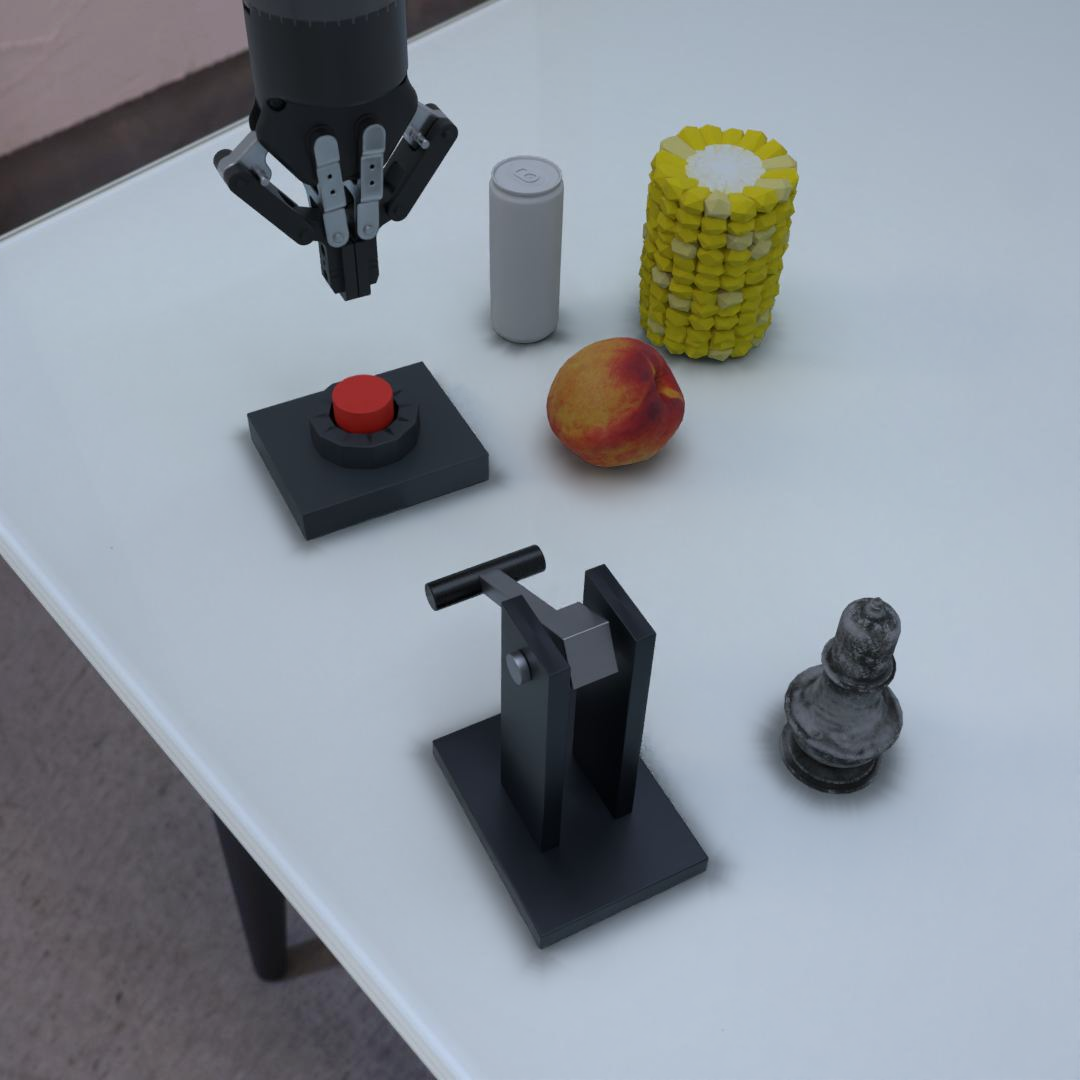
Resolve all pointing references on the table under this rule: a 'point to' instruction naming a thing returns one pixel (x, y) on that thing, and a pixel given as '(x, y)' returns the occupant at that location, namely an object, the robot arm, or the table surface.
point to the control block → (367, 454)
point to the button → (363, 404)
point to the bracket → (570, 775)
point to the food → (714, 240)
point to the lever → (535, 610)
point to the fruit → (615, 402)
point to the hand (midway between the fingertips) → (351, 290)
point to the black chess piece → (845, 703)
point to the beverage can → (525, 247)
